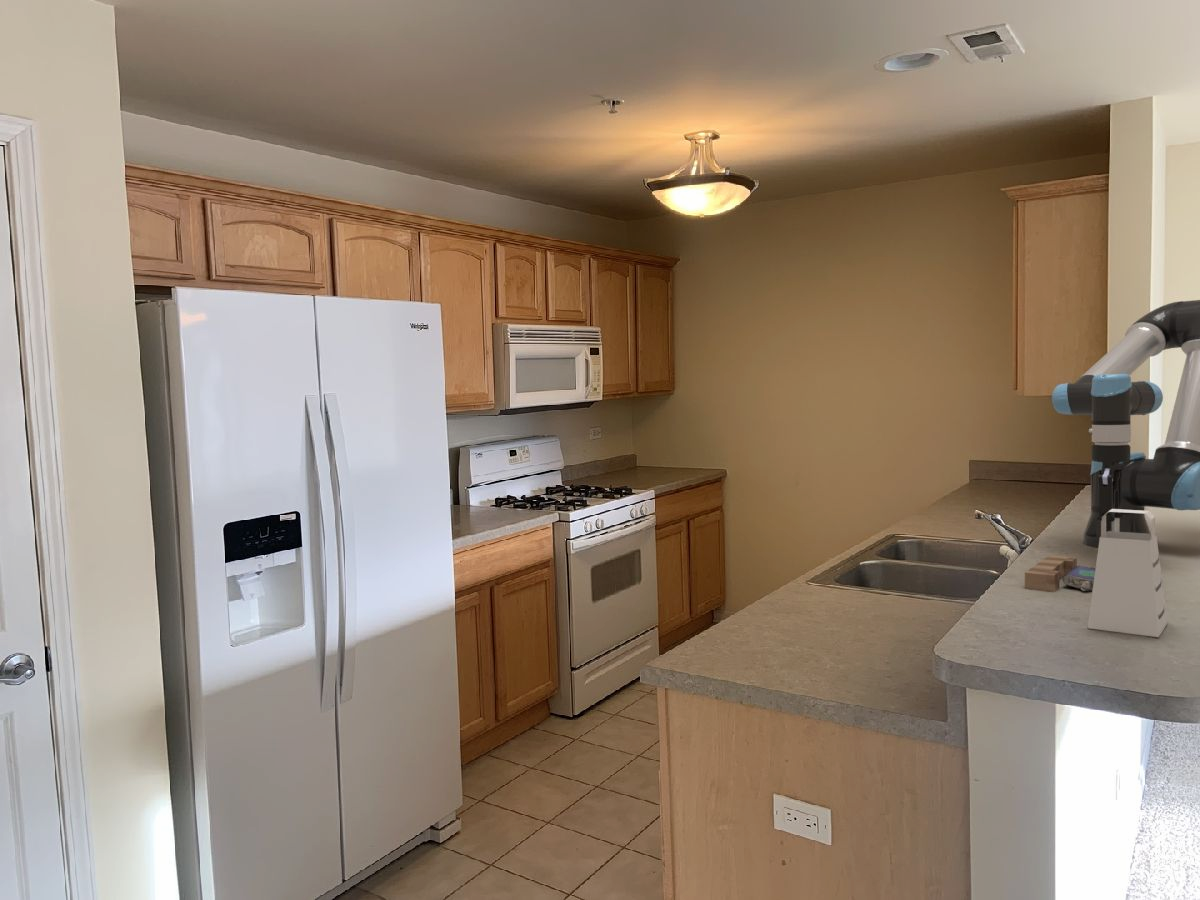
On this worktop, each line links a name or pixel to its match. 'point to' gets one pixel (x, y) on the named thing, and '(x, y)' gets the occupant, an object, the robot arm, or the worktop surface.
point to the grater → (1128, 583)
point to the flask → (1080, 578)
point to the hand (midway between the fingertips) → (1110, 548)
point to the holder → (1049, 573)
